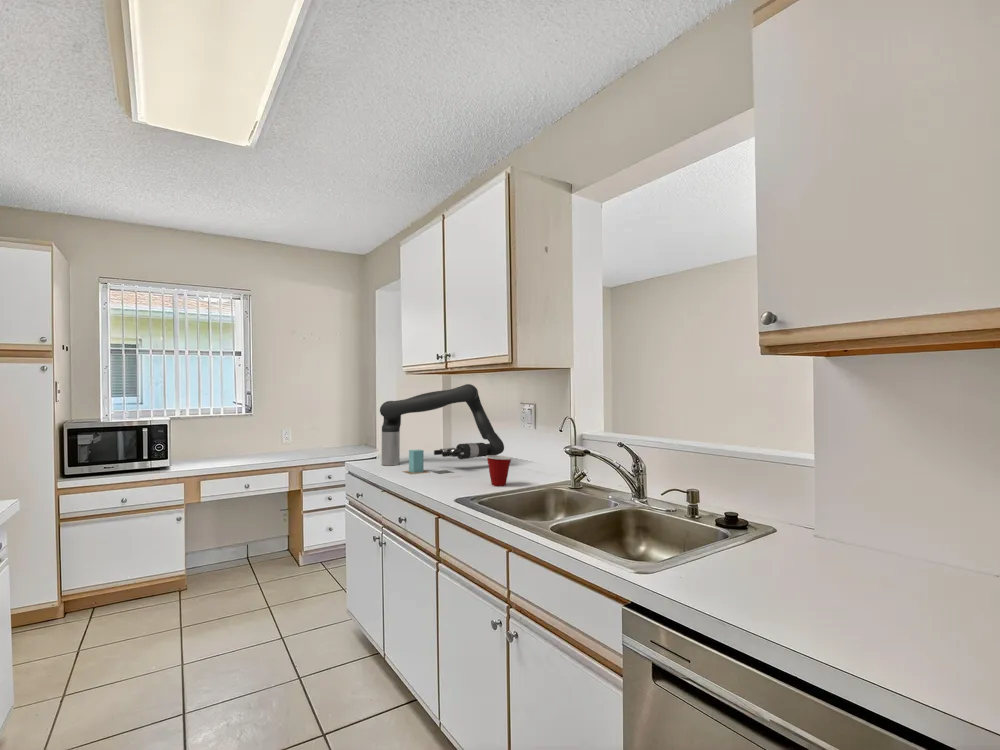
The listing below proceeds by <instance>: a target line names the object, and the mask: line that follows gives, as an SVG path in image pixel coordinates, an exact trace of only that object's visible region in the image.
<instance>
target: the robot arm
mask: <svg viewBox="0 0 1000 750" xmlns="http://www.w3.org/2000/svg"><path fill="white" fill-rule="evenodd" d="M456 403H457V404H459V403H466V405H467V406H468V408H469V409H470V411H471V413H472V416H473V419H474V421H475V425H476V427H477V430H478V431H479V433H480V436H481V438H482V439H483V440H487V441H488V442H489V443H486V442H469V443H468V442H467V443H459V444H457V445H456V447H446V448H440V449H436V450H433V455H434V456H439V455H442V457H443V458H444V457H445V458H446V457H452V458H456V457H457V458H458V460H466V459H468V460H469V459H475V458H481V457H484V458H485V457H486V456H488V455H497V456H499V455H500V454H502V453H503V452H504V450H505V445H504V442H503V440H502V439H501V437H500V436H499V435H498V433H496V432H495V430H494V428H493V426H492V423H491V421H490V419H489V417H488V416H487V413H486V412H485V409H484V407H483V404H482V402H481V399H480V396H479V391H478V388H477V387H476V386H475V385H473V384H470V383H465V384H463V385H460V386H458V387H455V388H451V389H446V390H445V389H444V390H443V389H442V390H435V391H430V392H429V391H428V392H425V393H421V394H417V395H414V396H412V397H409V398H405V399H399V400H388V401H387V400H386V401H385V402H383V403H382V404H381V406H380V408H379V413H380V415H381V416H382V417H383V423H382V426H381V465H382V466H398V465H400V463H401V462H400V456H401V455H400V452H401V449H400V446H401V445H400V444H401V443H400V442H401V441H400V440H401V439H400V438H401V437H400V436H401V432H400V431H401V425H402V422H401V421H402V416H403V415H405V414H410V413H411V414H412V413H423V412H424V413H425V412H429V411H433V410H438V409H441V408H444V407H446V406H448V405H452V404H456ZM486 458H487V457H486Z"/></svg>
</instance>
